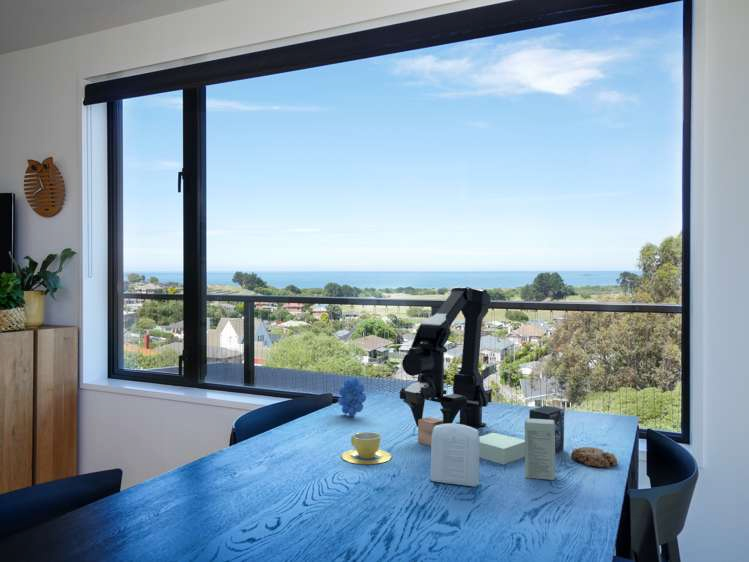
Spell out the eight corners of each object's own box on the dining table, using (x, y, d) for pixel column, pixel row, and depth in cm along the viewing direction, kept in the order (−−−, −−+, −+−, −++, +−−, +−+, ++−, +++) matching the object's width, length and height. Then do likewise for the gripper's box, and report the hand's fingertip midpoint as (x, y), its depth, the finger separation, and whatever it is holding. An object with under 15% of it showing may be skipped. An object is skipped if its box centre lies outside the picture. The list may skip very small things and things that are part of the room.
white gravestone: (480, 481, 128) (481, 423, 128) (477, 488, 124) (478, 428, 123) (432, 476, 131) (433, 419, 131) (428, 482, 127) (429, 424, 127)
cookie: (577, 453, 150) (577, 441, 150) (622, 461, 144) (622, 449, 144) (564, 463, 142) (564, 450, 142) (611, 472, 136) (611, 459, 135)
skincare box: (555, 474, 133) (556, 419, 133) (554, 481, 129) (555, 424, 128) (525, 471, 135) (526, 417, 135) (523, 477, 131) (524, 421, 131)
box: (548, 456, 146) (548, 413, 146) (527, 451, 150) (528, 409, 150) (564, 450, 151) (565, 408, 151) (544, 445, 155) (545, 404, 155)
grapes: (375, 417, 183) (375, 378, 183) (359, 421, 179) (359, 380, 178) (349, 410, 192) (349, 373, 191) (333, 414, 187) (333, 375, 187)
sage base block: (493, 448, 154) (493, 432, 154) (527, 457, 147) (527, 440, 146) (469, 456, 147) (469, 439, 147) (503, 465, 140) (503, 448, 140)
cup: (401, 457, 144) (402, 435, 144) (367, 469, 136) (367, 445, 136) (365, 447, 153) (365, 426, 152) (331, 458, 144) (331, 435, 144)
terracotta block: (430, 438, 161) (430, 416, 160) (445, 442, 157) (445, 419, 157) (418, 442, 157) (418, 419, 157) (432, 446, 153) (432, 423, 153)
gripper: (385, 369, 158) (384, 428, 158) (440, 379, 144) (439, 443, 145) (414, 365, 166) (413, 421, 166) (468, 374, 152) (467, 435, 152)
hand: (431, 430), depth 157 cm, fingers open, 9 cm apart
